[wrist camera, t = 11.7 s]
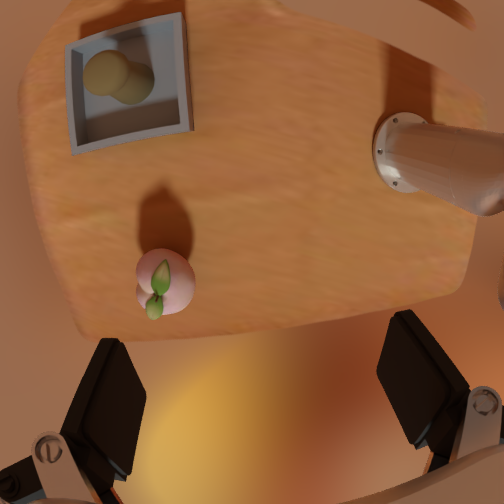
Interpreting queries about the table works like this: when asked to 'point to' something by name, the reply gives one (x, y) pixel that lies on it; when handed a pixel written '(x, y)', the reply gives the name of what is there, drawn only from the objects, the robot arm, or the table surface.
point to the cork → (118, 77)
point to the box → (141, 114)
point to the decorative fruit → (164, 282)
